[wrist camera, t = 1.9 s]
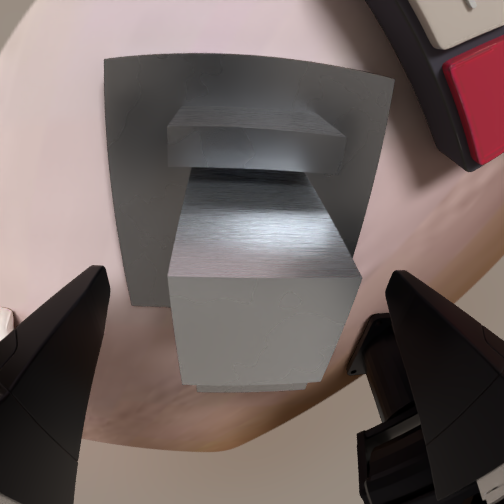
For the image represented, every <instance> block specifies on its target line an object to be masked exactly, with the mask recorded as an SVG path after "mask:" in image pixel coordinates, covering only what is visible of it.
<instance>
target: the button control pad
mask: <svg viewBox="0 0 504 504" xmlns="http://www.w3.org/2000/svg"><path fill="white" fill-rule="evenodd" d="M365 1H366V2H367V4H368V5H369V7H370V8H371V10H372V12H373V13H374V15H375V17H376V18H377V20H378V22H379V23H380V25H381V27H382V29H383V30H384V32H385V34H386V36H387V37H388V39H389V41H390V43H391V45H392V47H393V48H394V50H395V52H396V54H397V56H398V58H399V60H400V62H401V64H402V66H403V68H404V70H405V72H406V74H407V76H408V78H409V80H410V83H411V85H412V87H413V89H414V91H415V94H416V96H417V98H418V101H419V103H420V105H421V108H422V110H423V112H424V115H425V117H426V120H427V122H428V125H429V128H430V130H431V133H432V136H433V138H434V141H435V144H436V146H437V148H438V150H439V151H441V152H442V153H443V154H445V155H446V156H447V157H449V158H450V159H451V160H453V161H454V162H455V163H456V164H458V165H459V166H460V167H462V168H463V169H464V170H466V171H467V172H472V171H475V170H476V169H478V168H480V167H481V166H483V165H484V164H486V163H488V162H489V161H491V160H493V159H494V158H496V157H497V156H499V155H501V154H502V153H504V0H365Z"/></svg>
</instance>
